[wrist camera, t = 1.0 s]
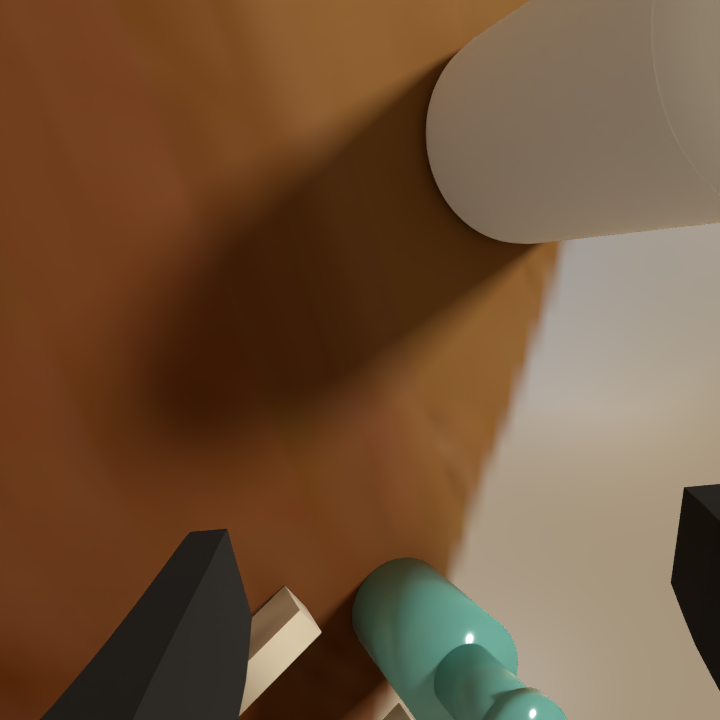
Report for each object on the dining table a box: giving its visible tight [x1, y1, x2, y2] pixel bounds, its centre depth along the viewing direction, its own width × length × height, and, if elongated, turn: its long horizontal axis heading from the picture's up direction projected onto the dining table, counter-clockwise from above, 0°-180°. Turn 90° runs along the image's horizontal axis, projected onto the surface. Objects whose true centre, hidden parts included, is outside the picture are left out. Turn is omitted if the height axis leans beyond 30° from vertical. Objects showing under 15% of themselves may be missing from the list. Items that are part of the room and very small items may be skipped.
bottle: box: [352, 558, 567, 720], centre depth 22 cm, size 4×4×8 cm
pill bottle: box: [426, 0, 720, 244], centre depth 19 cm, size 8×8×15 cm
